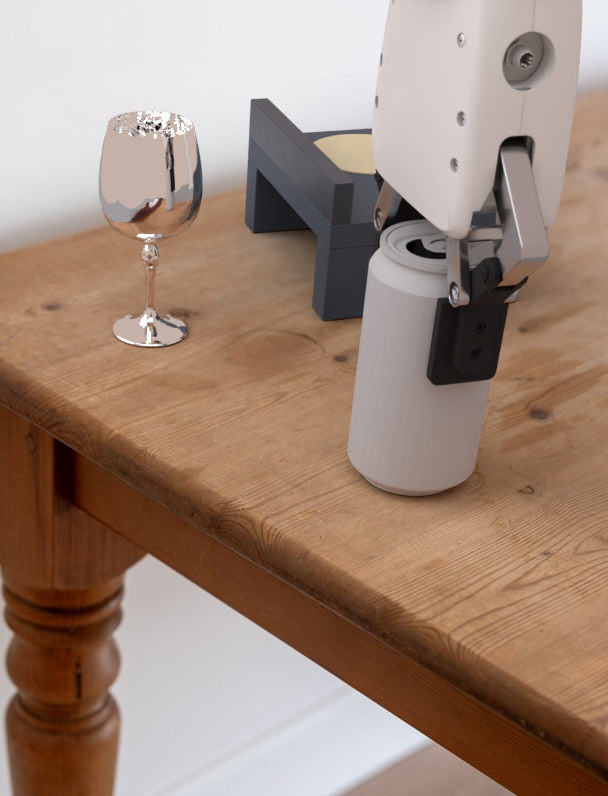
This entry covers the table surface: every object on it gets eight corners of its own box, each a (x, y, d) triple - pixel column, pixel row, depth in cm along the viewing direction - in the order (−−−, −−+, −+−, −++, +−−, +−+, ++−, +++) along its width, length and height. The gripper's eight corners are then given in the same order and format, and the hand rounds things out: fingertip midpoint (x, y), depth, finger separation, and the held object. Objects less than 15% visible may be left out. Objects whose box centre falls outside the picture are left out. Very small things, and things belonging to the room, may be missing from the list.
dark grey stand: (416, 208, 94) (432, 88, 89) (516, 302, 82) (541, 169, 76) (244, 222, 91) (250, 98, 86) (322, 321, 79) (335, 184, 73)
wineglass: (214, 321, 78) (221, 118, 71) (172, 360, 74) (175, 148, 67) (129, 301, 80) (128, 101, 73) (83, 338, 76) (77, 130, 68)
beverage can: (319, 462, 66) (342, 234, 58) (406, 424, 69) (438, 203, 62) (412, 519, 62) (449, 282, 54) (499, 475, 65) (545, 246, 58)
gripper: (700, -30, 45) (590, 426, 55) (481, -119, 58) (427, 264, 69) (502, -24, 43) (428, 446, 54) (322, -117, 56) (293, 276, 67)
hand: (428, 341), depth 61 cm, fingers closed on beverage can, 6 cm apart
